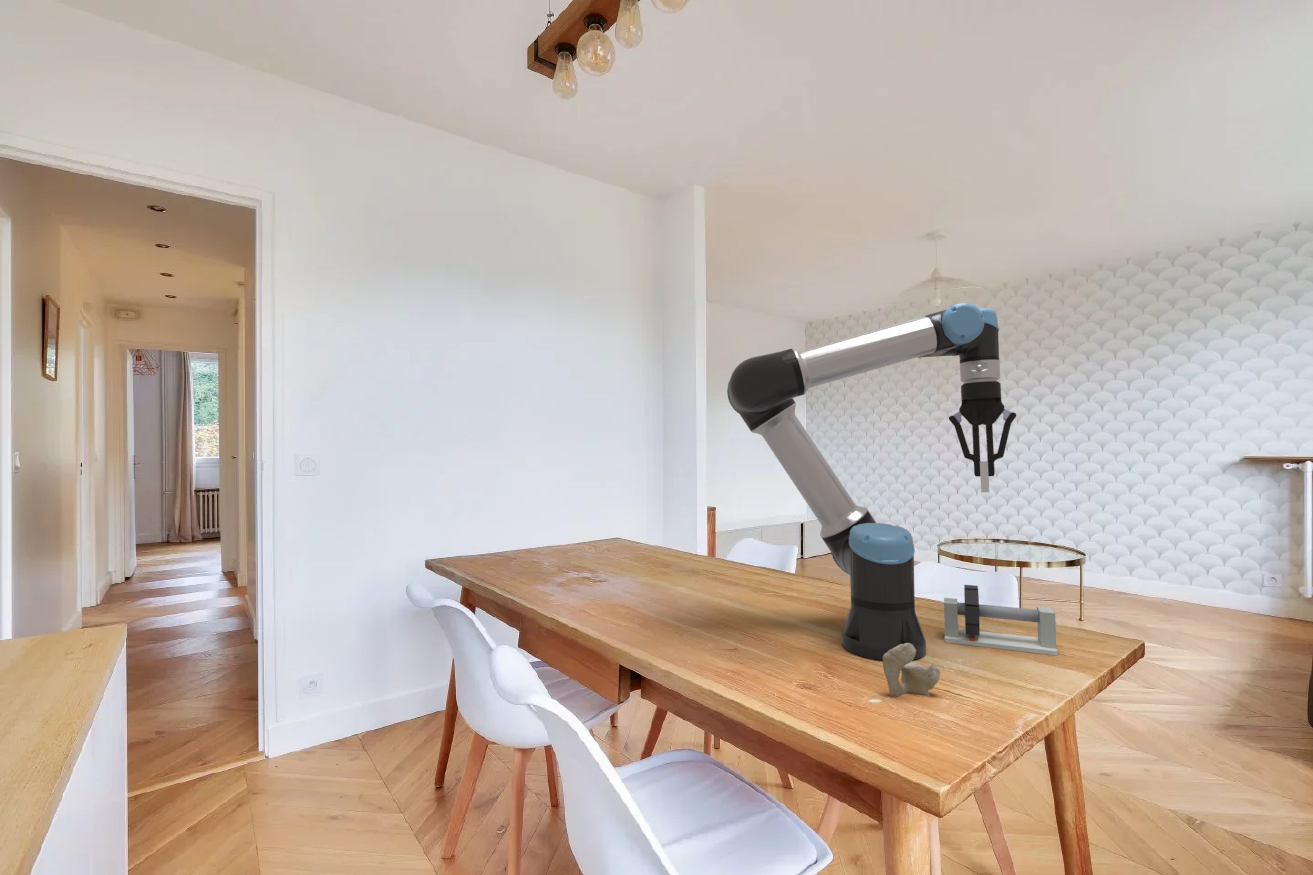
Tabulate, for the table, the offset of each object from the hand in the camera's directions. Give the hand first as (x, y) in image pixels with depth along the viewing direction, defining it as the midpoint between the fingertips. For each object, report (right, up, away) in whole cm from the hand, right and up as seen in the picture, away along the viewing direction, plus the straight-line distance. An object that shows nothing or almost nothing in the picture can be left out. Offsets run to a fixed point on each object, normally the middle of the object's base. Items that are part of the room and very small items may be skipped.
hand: (985, 491), depth 126 cm
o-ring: (-7, -28, -7) cm, 29 cm away
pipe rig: (-3, -29, -9) cm, 31 cm away
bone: (-30, -29, -32) cm, 53 cm away
